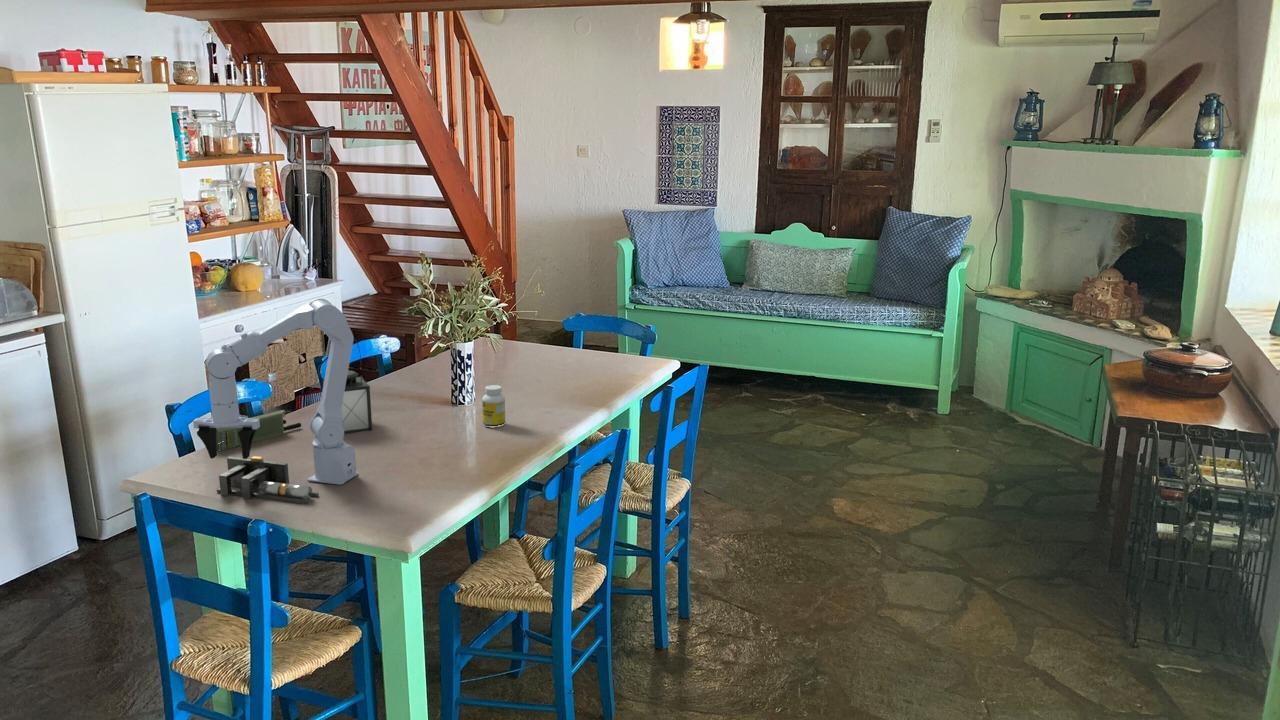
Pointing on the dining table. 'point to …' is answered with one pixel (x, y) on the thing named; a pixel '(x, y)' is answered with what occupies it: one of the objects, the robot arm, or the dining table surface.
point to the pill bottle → (493, 406)
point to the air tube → (285, 490)
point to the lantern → (356, 403)
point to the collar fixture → (255, 478)
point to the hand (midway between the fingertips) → (230, 457)
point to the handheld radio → (268, 428)
